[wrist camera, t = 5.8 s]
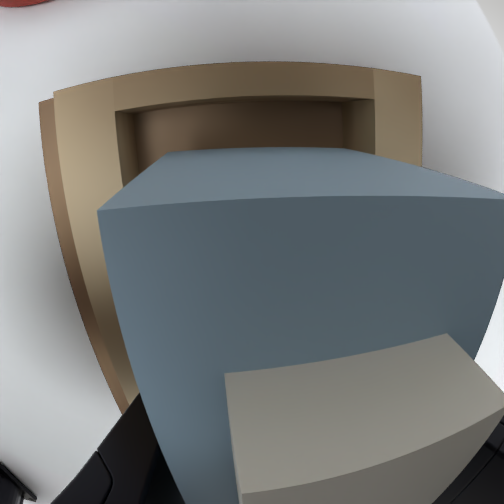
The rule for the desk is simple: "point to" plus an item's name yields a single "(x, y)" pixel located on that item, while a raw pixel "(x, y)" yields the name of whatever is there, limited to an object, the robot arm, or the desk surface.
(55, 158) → the jig
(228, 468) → the blue slab
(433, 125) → the desk surface
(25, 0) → the stacking bear
